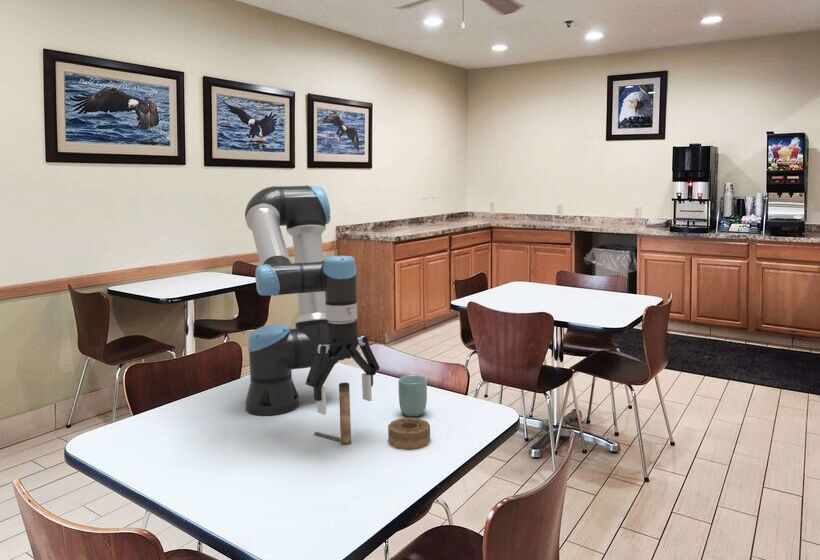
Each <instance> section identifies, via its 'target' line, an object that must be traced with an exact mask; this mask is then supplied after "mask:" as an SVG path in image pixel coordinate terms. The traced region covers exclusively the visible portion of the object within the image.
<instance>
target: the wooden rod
mask: <svg viewBox="0 0 820 560" xmlns="http://www.w3.org/2000/svg"><path fill="white" fill-rule="evenodd" d="M338 395H339V397H338V399H339V401H338V402H339V421H340V423H339V426H340V439H341V440H340V444H341V445H343V446H344V445H345V446H348V445H351V444H352V431H351V430H352V429H351V428H352V426H351V424H352V423H351V400H350V399H351V397H350V395H351V393H350V383H349V382H340V383H338Z"/></svg>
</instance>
